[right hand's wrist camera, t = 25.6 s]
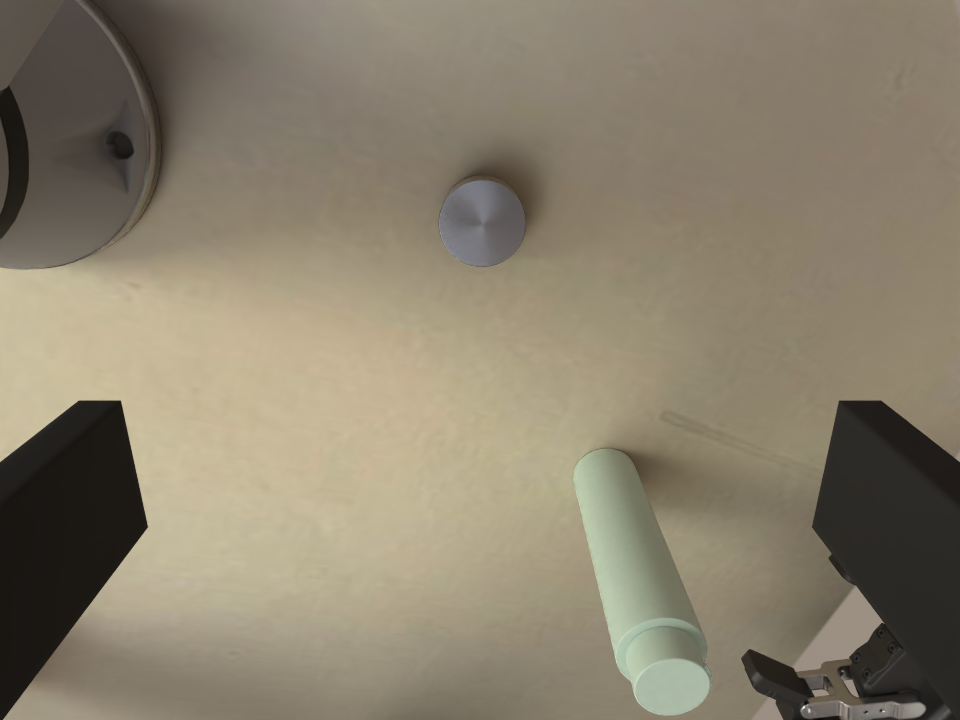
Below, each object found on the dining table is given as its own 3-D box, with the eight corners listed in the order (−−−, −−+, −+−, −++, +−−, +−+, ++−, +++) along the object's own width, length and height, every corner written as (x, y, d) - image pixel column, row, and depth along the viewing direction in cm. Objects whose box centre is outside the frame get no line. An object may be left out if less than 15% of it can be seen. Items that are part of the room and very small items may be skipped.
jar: (591, 512, 45) (650, 736, 30) (561, 466, 44) (606, 676, 28) (646, 484, 45) (737, 699, 29) (617, 437, 43) (695, 636, 28)
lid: (539, 201, 38) (542, 207, 36) (497, 272, 39) (498, 282, 37) (466, 158, 37) (465, 162, 35) (426, 233, 38) (423, 240, 37)
